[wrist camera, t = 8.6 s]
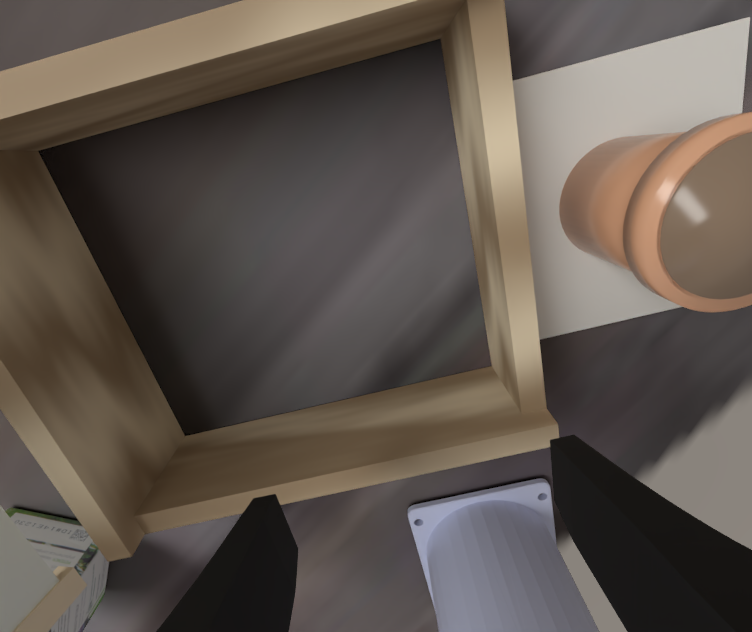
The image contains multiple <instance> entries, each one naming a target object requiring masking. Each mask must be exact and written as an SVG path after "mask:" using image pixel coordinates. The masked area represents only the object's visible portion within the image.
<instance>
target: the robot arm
mask: <svg viewBox="0 0 752 632" xmlns="http://www.w3.org/2000/svg"><path fill="white" fill-rule="evenodd" d="M550 449H551V462H552V475H553V488H554V500H555V502H556V505H557V507H558V509H559V511H560V514H561V516H562V518H563V520H564V522H565V524H566V527H567V529H568V531H569V533H570V535H571V537H572V539H573V541H574V543H575V545H576V546H577V548H578V550H579V551H580V553H581V555H582V556H583V558H584V560H585V562H586V563H587V565H588V567H589V568H590V570H591V572H592V573H593V575H594V577H595V578H596V580H597V582H598V583H599V585H600V587H601V588H602V590H603V592H604V593H605V595H606V596H607V598H608V600H609V602H610V603H611V605H612V607H613V608H614V610H615V611H616V613H617V615H618V617H619V618H620V620H621V622H622V623H623V625H624V627H625V628H626V630H627V631H628V632H752V550H751V549H749V548H747V547H745V546H743V545H741V544H740V543H738V542H736V541H734V540H732V539H730V538H729V537H727V536H725V535H723V534H722V533H720V532H718V531H717V530H715V529H713V528H711V527H710V526H708V525H707V524H705V523H703V522H702V521H700V520H698V519H697V518H695V517H693V516H692V515H690V514H689V513H687V512H685V511H683V510H682V509H681V508H679V507H677V506H676V505H674V504H673V503H671V502H669V501H668V500H666V499H665V498H663V497H662V496H661V495H659V494H658V493H656V492H655V491H653V490H652V489H650V488H649V487H647V486H646V485H644V484H643V483H641V482H640V481H638V480H637V479H635V478H634V477H632V476H631V475H629V474H628V473H627V472H625V471H624V470H622V469H621V468H620V467H618V466H617V465H615V464H614V463H613V462H611V461H610V460H608V459H607V458H606V457H604V456H603V455H601V454H600V453H599V452H597V451H596V450H595V449H593V448H592V447H590V446H589V445H588V444H586V443H585V442H583V441H582V440H581V439H579V438H578V437H576V436H575V435H571V436H566V437H561V438H556V439H551V440H550ZM541 493H543V494H541ZM539 494H541V495H539ZM407 513H408V519H409V522H410V526H411V529H412V533H413V536H414V539H415V543H416V546H417V550H418V553H419V557H420V560H421V564H422V567H423V570H424V574H425V577H426V581H427V584H428V588H429V591H430V595H431V598H432V601H433V605H434V608H435V612H436V617H437V624H438V630H439V632H599V630H598V628H597V626H596V624H595V622H594V620H593V618H592V616H591V614H590V612H589V610H588V608H587V606H586V604H585V602H584V600H583V598H582V596H581V594H580V592H579V590H578V588H577V586H576V584H575V582H574V580H573V578H572V576H571V574H570V572H569V570H568V568H567V566H566V564H565V562H564V560H563V558H562V556H561V554H560V552H559V550H558V548H557V543H556V534H555V525H554V516H553V507H552V498H551V489H550V485H549V483H548V482H547V481H546V480H545V479H542V478H538V479H533V480H529V481H524V482H519V483H514V484H510V485H505V486H500V487H495V488H491V489H486V490H481V491H476V492H472V493H467V494H462V495H457V496H453V497H448V498H443V499H439V500H434V501H429V502H424V503H420V504H415V505H412V506H410V507H409V508H408V510H407ZM417 519H420V520H417ZM297 559H298V547H297V545H296V542H295V540H294V538H293V535H292V533H291V530H290V528H289V525H288V523H287V520H286V518H285V516H284V513H283V511H282V508H281V506H280V503H279V501H278V498H277V496H276V494H272V495H267V496H262V497H257V498H253V500H252V501H251V502H250V504H249V505H248V507H247V508H246V509H245V511H244V512H243V514H242V515H241V517H240V518H239V520H238V521H237V522H236V524H235V525H234V527H233V528H232V530H231V531H230V533H229V534H228V536H227V537H226V538H225V540H224V541H223V543H222V544H221V546H220V547H219V549H218V550H217V552H216V553H215V554H214V556H213V557H212V559H211V560H210V561H209V563H208V564H207V566H206V567H205V568H204V570H203V571H202V573H201V574H200V575H199V577H198V578H197V580H196V581H195V582H194V584H193V585H192V586H191V588H190V589H189V590H188V591H187V593H186V594H185V595H184V597H183V598H182V599H181V601H180V602H179V603H178V605H177V606H176V607H175V609H174V610H173V611H172V612H171V614H170V615H169V616H168V618H167V619H166V620H165V622H164V623H163V624H162V625H161V627H160V628H159V629H158V630H157V631H156V632H288V631H289V626H290V620H291V614H292V608H293V603H294V597H295V589H296V576H297Z"/></svg>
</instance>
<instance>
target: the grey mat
mask: <svg viewBox="0 0 752 632" xmlns="http://www.w3.org/2000/svg"><path fill="white" fill-rule="evenodd" d="M749 23H750V17H748V18H744V19H740V20H736V21H733V22H729V23H725V24H722V25H718V26H714V27H711V28H707V29H703V30H699V31H696V32H692V33H688V34H685V35H681V36H677V37H673V38H670V39H666V40H662V41H659V42H655V43H651V44H648V45H644V46H640V47H636V48H633V49H629V50H625V51H622V52H618V53H614V54H610V55H607V56H603V57H599V58H596V59H592V60H588V61H585V62H581V63H577V64H573V65H570V66H566V67H562V68H559V69H555V70H551V71H547V72H544V73H540V74H536V75H533V76H529V77H525V78H521V79H518V80H514V81H513V90H514V100H515V109H516V119H517V128H518V138H519V148H520V157H521V167H522V177H523V186H524V196H525V205H526V215H527V225H528V234H529V244H530V253H531V263H532V273H533V282H534V292H535V301H536V311H537V321H538V330H539V340H540V339H545V338H549V337H553V336H558V335H562V334H566V333H571V332H575V331H579V330H584V329H588V328H592V327H597V326H601V325H605V324H610V323H614V322H618V321H623V320H627V319H631V318H636V317H640V316H644V315H649V314H653V313H657V312H662V311H666V310H670V309H675V308H679V307H683V306H680V305H678V304H676V303H673V302H671V301H669V300H667V299H665V298H663V297H660V296H658V295H656V294H655V293H653V292H651V291H649V290H648V289H647V288H646V287H644V286H643V285H642V284H641V283H640V282H639V281H638V280H637V279H636V277H635V276H634V274H633V273H632V272H631V271H629V270H626V269H624V268H622V267H619V266H617V265H614V264H612V263H610V262H607V261H605V260H603V259H600V258H598V257H595V256H593V255H591V254H588V253H586V252H584V251H582V250H580V249H578V248H577V247H576V246H575V245H573V243H572V242H571V241H570V240H569V239H568V237H567V236H566V234H565V232H564V230H563V228H562V225H561V221H560V215H559V205H560V197H561V193H562V189H563V187H564V184H565V182H566V180H567V178H568V176H569V174H570V172H571V171H572V169H573V168H574V167H575V165H576V164H577V163H578V162H579V160H580V159H581V158H583V157H584V156H585V155H586V154H587V153H588V152H589V151H591V150H592V149H593V148H595V147H597V146H598V145H600V144H602V143H604V142H606V141H609V140H612V139H615V138H619V137H627V136H639V135H651V134H663V133H675V132H687V131H689V130H690V129H692V128H694V127H695V126H698V125H700V124H702V123H704V122H706V121H709V120H712V119H715V118H718V117H721V116H726V115H731V114H738V113H742V107H743V95H744V83H745V71H746V59H747V47H748V35H749Z"/></svg>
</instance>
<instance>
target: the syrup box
mask: <svg viewBox="0 0 752 632" xmlns="http://www.w3.org/2000/svg"><path fill="white" fill-rule="evenodd" d="M5 512H6V513H7V515H8V516H9V517H10V518H11V520H12V521H13V522H14V523H15V525H16V526H17V527H18V529H19V530H20V531H21V532H22V534H23V535H24V536H25V537H26V539H27V540H28V541H29V543H30V544H31V545H32V546H33V548H34V549H35V550H36V551H37V553H38V554H39V555H40V557H41V558H42V559H43V560H44V562H45V563H46V564H47V565H48V567H49V568H50V569H51V571H52V572H53V571H54V570H55V569H56V568H57V567H58V566H63V567H74V568H75V570H76V571H77V572H78V574H79V575H80V576H81V577H82V579H83V580H84V581H85V583H86V584H87V586H86V587H85V589H84V590H83V591H82V592H81V593H80V595H79V596H78V597H77V598H76V599H75V600H74V602H73V603H72V604H71V605H70V606H69V607H68V609H67V610H66V611H65V612H64V613H63V614H62V616H61V617H60V618H59V619H58V620H57V622H56V623H55V624H54V625H53V626H52V627H51V629H50V630H49V631H48V632H83V630H84V628H85V627H86V625H87V623H88V622H89V620H90V618H91V617H92V615H93V613H94V612H95V610H96V608H97V607H98V605H99V603H100V602H101V600H102V598H103V596H104V594H105V588H106V581H107V574H108V567H109V562H108V561H107V560H106V559H105V557H104V556H103V554H102V553H101V551H100V550H99V549H98V547H97V546H96V544H95V543H94V542H93V540H92V539H91V537H90V536H89V534H88V533H87V532H86V530H85V529H84V527H83V526H82V524H81V523H80V522H79V521H75V520H70V519H65V518H61V517H56V516H51V515H46V514H41V513H36V512H31V511H26V510H22V509H16V508H8V509H7V510H6V511H5Z"/></svg>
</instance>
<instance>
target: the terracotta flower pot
mask: <svg viewBox="0 0 752 632" xmlns="http://www.w3.org/2000/svg"><path fill="white" fill-rule="evenodd" d="M559 215H560V221H561V225H562V228H563V230H564V232H565V234H566V236H567V237H568V239H569V240H570V241H571V242H572V243H573V245H575V246H576V247H577V248H578V249H580V250H582V251H584V252H586V253H588V254H591V255H593V256H595V257H598V258H600V259H603V260H605V261H607V262H610V263H612V264H614V265H617V266H619V267H622V268H624V269H626V270H629V271H631V272H632V273H633V274H634V276H635V277H636V279H637V280H638V281H639V282H640V283H641V284H642V285H643V286H644V287H646V288H647V289H648V290H649V291H651V292H653V293H655V294H656V295H658V296H660V297H663V298H665V299H667V300H669V301H671V302H673V303H676V304H678V305H680V306H683V307H685V308H688V309H691V310H696V311H700V312H725V311H731V310H736V309H740V308H743V307H746V306H749V305H752V112H747V113H738V114H731V115H726V116H721V117H718V118H715V119H712V120H709V121H706V122H704V123H702V124H700V125H698V126H695V127H694V128H692V129H690V130H689V131H687V132H675V133H663V134H651V135H639V136H627V137H619V138H615V139H612V140H609V141H606V142H604V143H602V144H600V145H598V146H597V147H595V148H593V149H592V150H591V151H589V152H588V153H587V154H586V155H585V156H584V157H583V158H581V159H580V160H579V162H578V163H577V164H576V165H575V167H574V168H573V169H572V171H571V172H570V174H569V176H568V178H567V180H566V182H565V184H564V187H563V189H562V193H561V197H560V205H559Z"/></svg>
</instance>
